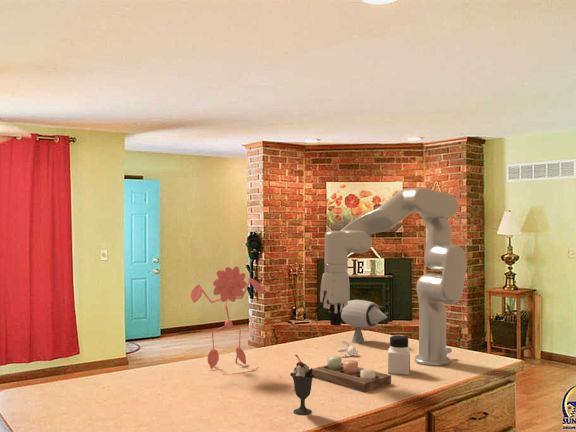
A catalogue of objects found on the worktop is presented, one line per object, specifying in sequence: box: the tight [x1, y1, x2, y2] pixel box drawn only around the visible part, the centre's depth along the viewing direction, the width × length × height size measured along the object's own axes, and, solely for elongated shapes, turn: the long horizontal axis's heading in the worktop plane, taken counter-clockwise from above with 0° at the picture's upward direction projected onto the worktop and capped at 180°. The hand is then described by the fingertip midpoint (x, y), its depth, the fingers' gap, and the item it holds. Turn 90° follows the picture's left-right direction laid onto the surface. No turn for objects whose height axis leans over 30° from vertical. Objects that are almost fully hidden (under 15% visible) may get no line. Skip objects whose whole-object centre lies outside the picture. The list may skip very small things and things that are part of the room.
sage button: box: [326, 355, 343, 371], centre depth 188 cm, size 5×5×4 cm
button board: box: [312, 362, 392, 393], centre depth 183 cm, size 13×22×3 cm, turn 43°
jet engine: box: [341, 299, 389, 344], centre depth 238 cm, size 15×20×18 cm
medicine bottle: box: [387, 334, 411, 376], centre depth 194 cm, size 7×7×12 cm
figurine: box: [190, 265, 266, 375], centre depth 196 cm, size 15×26×35 cm, turn 115°
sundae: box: [290, 354, 315, 416], centre depth 153 cm, size 7×7×15 cm
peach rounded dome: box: [342, 359, 359, 375], centre depth 183 cm, size 5×5×4 cm
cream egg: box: [360, 368, 376, 380], centre depth 178 cm, size 5×5×4 cm
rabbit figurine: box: [336, 338, 359, 357], centre depth 216 cm, size 6×4×8 cm
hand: (335, 324), depth 188 cm, fingers closed
